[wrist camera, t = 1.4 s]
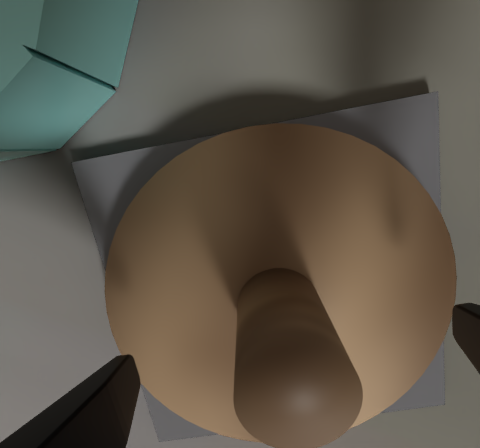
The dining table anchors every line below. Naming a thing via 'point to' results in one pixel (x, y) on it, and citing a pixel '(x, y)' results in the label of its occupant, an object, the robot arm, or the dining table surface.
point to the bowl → (57, 68)
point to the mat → (347, 121)
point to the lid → (281, 283)
